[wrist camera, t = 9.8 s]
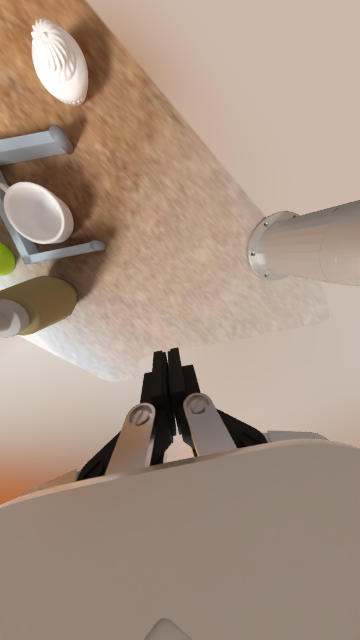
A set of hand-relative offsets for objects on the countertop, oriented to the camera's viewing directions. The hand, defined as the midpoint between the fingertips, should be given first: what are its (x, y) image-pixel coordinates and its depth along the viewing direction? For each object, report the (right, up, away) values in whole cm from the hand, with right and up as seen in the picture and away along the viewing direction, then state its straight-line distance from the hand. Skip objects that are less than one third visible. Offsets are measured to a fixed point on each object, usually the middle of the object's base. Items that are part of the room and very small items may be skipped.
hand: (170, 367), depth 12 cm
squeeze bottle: (-23, +8, +23) cm, 33 cm away
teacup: (-22, +21, +18) cm, 35 cm away
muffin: (-14, +36, +13) cm, 41 cm away
